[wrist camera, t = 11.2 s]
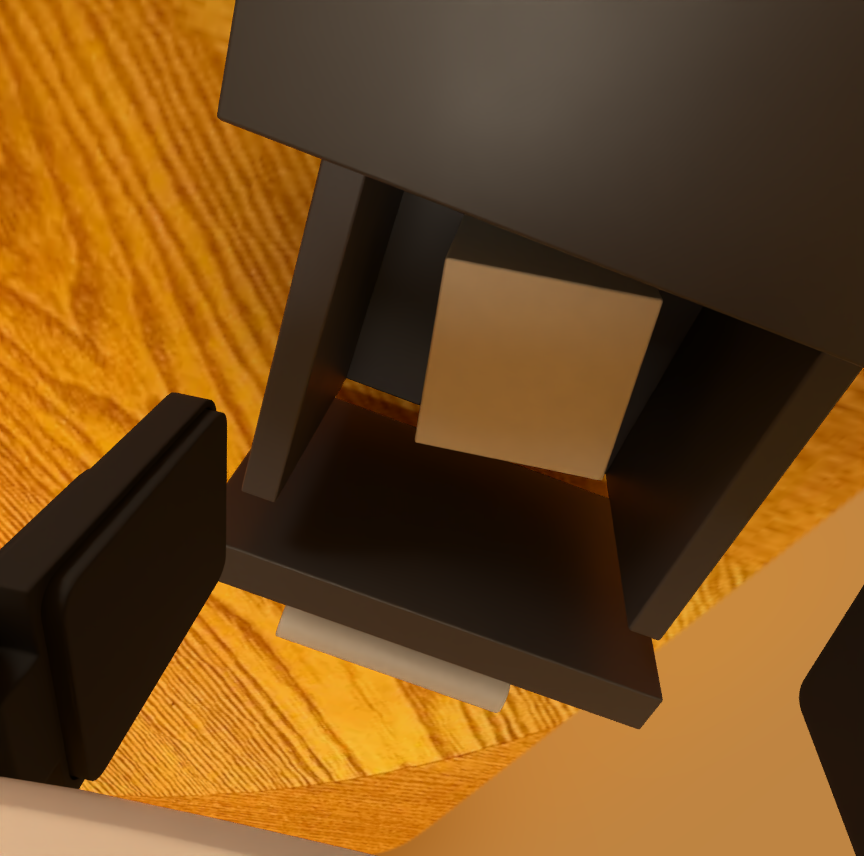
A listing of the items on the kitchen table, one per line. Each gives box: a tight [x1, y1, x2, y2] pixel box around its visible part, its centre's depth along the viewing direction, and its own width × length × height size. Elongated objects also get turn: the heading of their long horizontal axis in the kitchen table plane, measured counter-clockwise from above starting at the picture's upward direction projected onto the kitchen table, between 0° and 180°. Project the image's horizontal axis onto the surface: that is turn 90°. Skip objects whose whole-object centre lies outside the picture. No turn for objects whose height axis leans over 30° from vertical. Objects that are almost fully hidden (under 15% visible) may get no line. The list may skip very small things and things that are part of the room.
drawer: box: [219, 159, 863, 729], centre depth 18 cm, size 18×12×8 cm, turn 161°
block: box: [415, 214, 663, 480], centre depth 17 cm, size 4×4×4 cm
